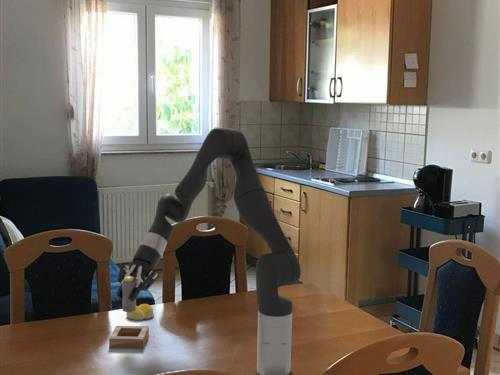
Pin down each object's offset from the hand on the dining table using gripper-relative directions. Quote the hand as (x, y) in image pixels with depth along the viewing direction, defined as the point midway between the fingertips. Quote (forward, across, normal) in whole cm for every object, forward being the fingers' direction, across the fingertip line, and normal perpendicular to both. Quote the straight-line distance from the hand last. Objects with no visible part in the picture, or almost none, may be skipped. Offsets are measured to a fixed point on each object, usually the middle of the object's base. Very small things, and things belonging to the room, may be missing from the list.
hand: (124, 298), depth 176 cm
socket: (+9, 0, +11) cm, 14 cm away
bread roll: (-4, -11, +25) cm, 28 cm away
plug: (+1, 0, +4) cm, 5 cm away
